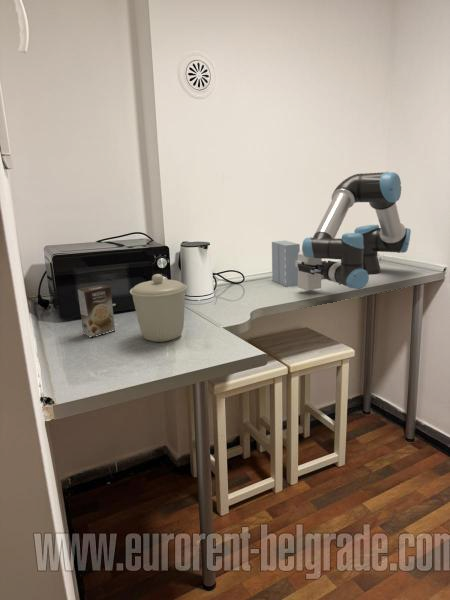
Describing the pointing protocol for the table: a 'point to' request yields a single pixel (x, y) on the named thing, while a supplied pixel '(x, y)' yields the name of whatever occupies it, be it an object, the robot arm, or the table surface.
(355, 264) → the robot arm
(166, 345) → the table surface
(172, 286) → the canister
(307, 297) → the table surface
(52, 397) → the table surface
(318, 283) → the milk carton
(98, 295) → the coffee box
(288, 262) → the pack
